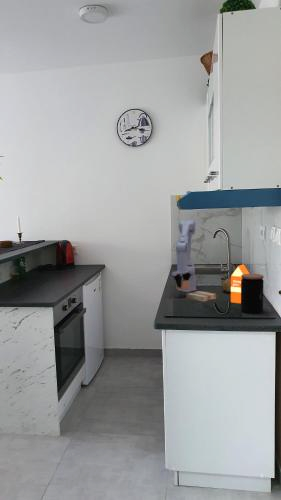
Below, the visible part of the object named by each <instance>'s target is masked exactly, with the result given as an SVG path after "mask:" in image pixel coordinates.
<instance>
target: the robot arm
mask: <svg viewBox="0 0 281 500" xmlns="http://www.w3.org/2000/svg"><path fill="white" fill-rule="evenodd" d="M178 229H179V236H178V242H177V243H176V245H175V252H176V256H177V257H176V262H177V263H176V267H177V268H176V269H177V270H175V271H172V272H171V273H172V276H173V278H174V280H175V284H176V283H177V287H179V288H180V287H181V280H188V286H189V289H187V290H178V289H177V291H179V292H184V293H191V292H195V291H197V290H198V289H197V288H196V286H197V283H196V282H197V280H196V277H195V273H196V272H195V271H196V270H195V269H196V268H195V263H194V262H193V261H191V254H192V253H191V251H192V249H191V248H192V236H193V235H195V234H196V220H195V219H190V220H189V219H188V220H186V219H185V220H184V219H182V220H181V219H180V220H179V221H178Z"/></svg>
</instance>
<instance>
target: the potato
mask: <svg viewBox="0 0 281 500" xmlns="http://www.w3.org/2000/svg"><path fill="white" fill-rule="evenodd" d="M221 286H222V290H224V291H225V292H227V293H231V277H228V278H226V279H225V280H223V281H222V283H221Z"/></svg>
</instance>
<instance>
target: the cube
mask: <svg viewBox="0 0 281 500" xmlns="http://www.w3.org/2000/svg"><path fill="white" fill-rule="evenodd" d="M175 289H176V290H177V291H178V290H187V289H189V286H188V280H181V287H180V288H179V287H177V283H176V282H175Z"/></svg>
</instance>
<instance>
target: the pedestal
mask: <svg viewBox="0 0 281 500" xmlns="http://www.w3.org/2000/svg"><path fill="white" fill-rule="evenodd" d="M185 294H186V299H187V300H193V301H196V302H197V301H198V302H207V301H212V300H215V299H217V293H213V292H207V291H203V290H198V291H197V290H196V291H192V292H188V293H185Z"/></svg>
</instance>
